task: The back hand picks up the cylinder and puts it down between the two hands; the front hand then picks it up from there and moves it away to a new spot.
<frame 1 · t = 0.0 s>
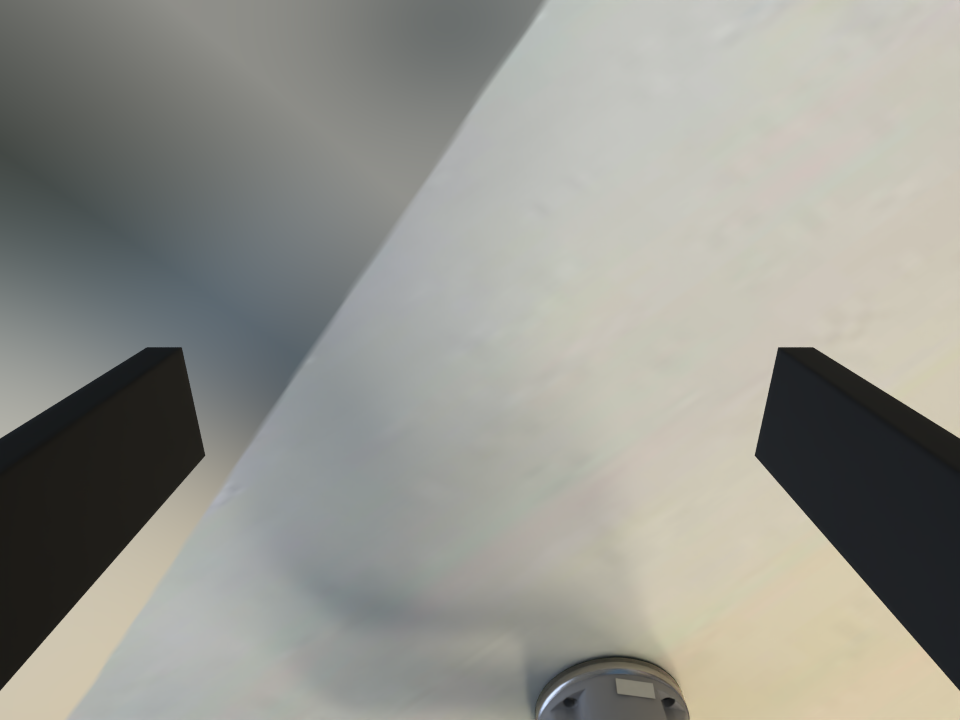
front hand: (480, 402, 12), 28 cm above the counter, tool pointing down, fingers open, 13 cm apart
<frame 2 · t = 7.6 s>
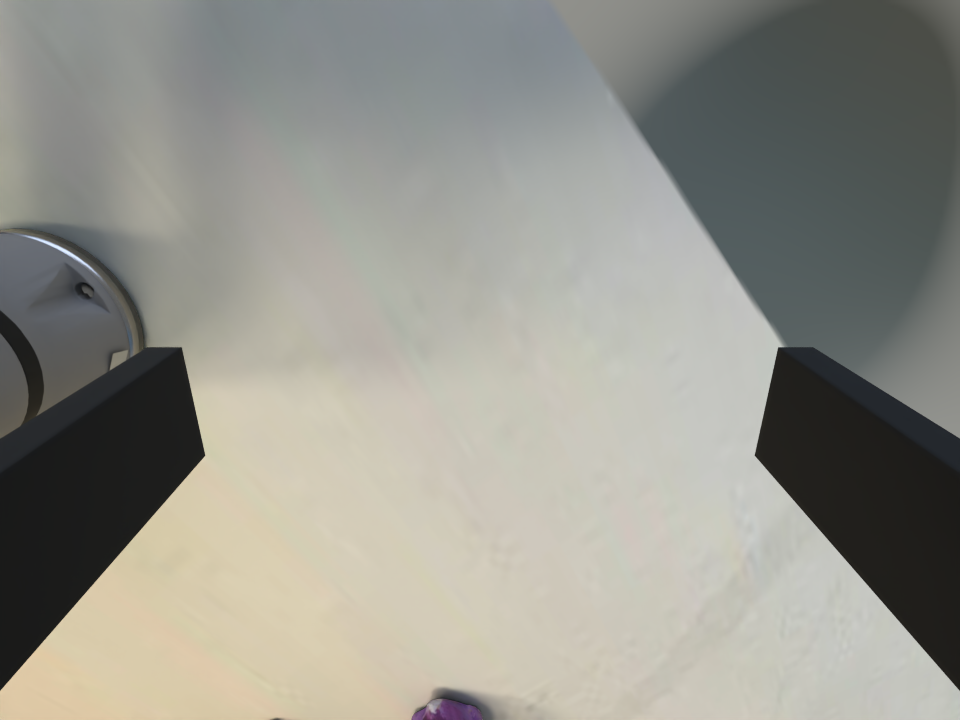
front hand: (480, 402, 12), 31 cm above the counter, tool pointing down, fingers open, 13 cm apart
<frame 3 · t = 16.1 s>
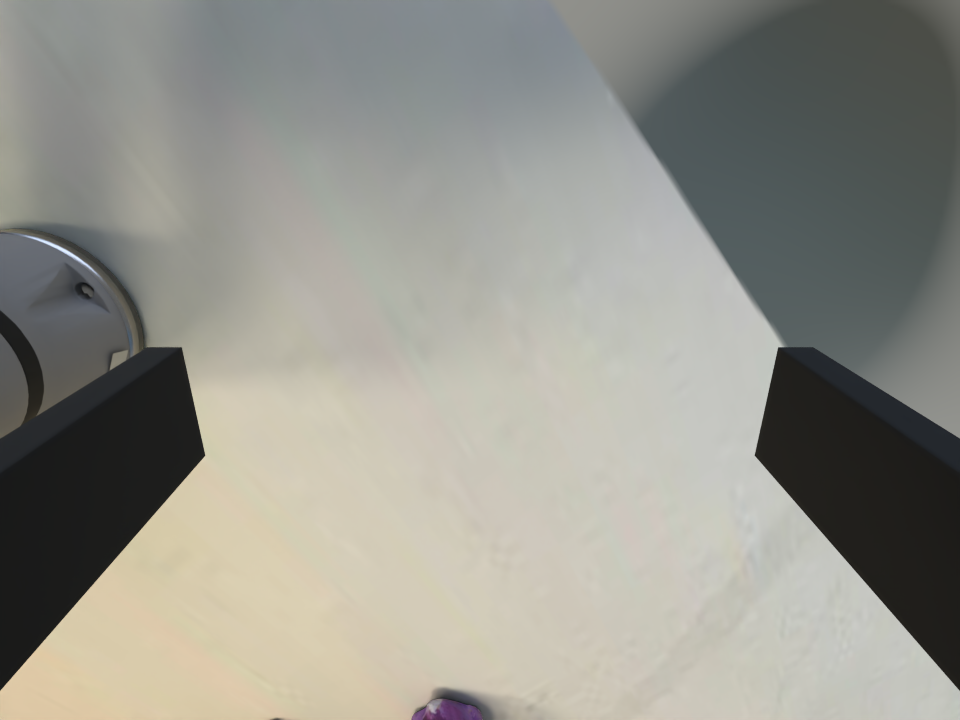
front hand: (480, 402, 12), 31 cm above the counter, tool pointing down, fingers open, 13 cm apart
when the back hand's fingers open (6 cm above the counter, at t = 24.7 s): cylinder drops 2 cm, on the counter.
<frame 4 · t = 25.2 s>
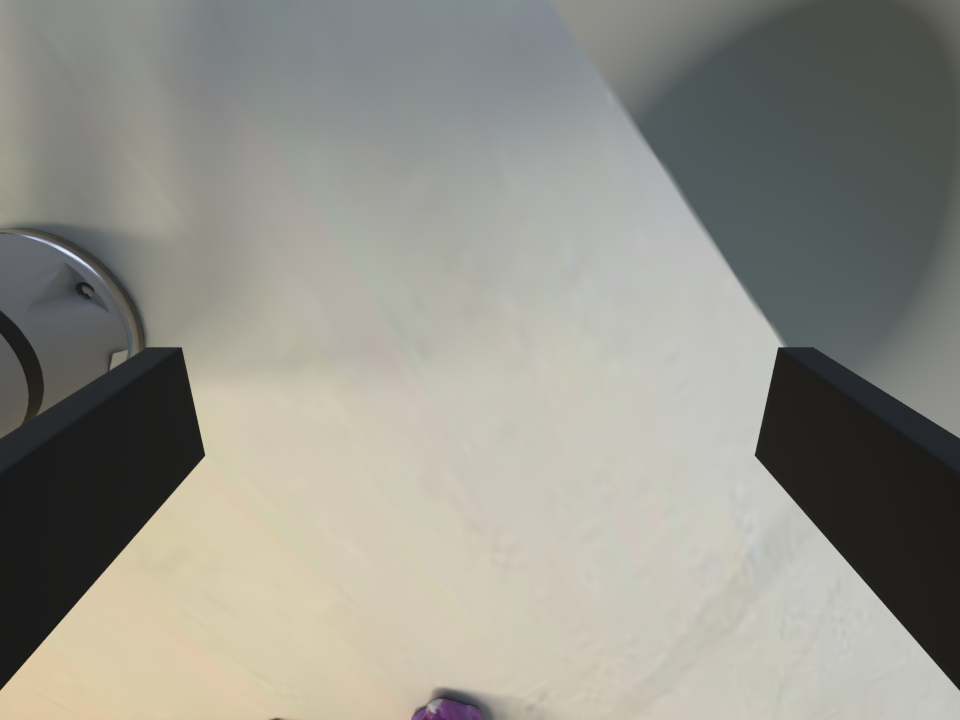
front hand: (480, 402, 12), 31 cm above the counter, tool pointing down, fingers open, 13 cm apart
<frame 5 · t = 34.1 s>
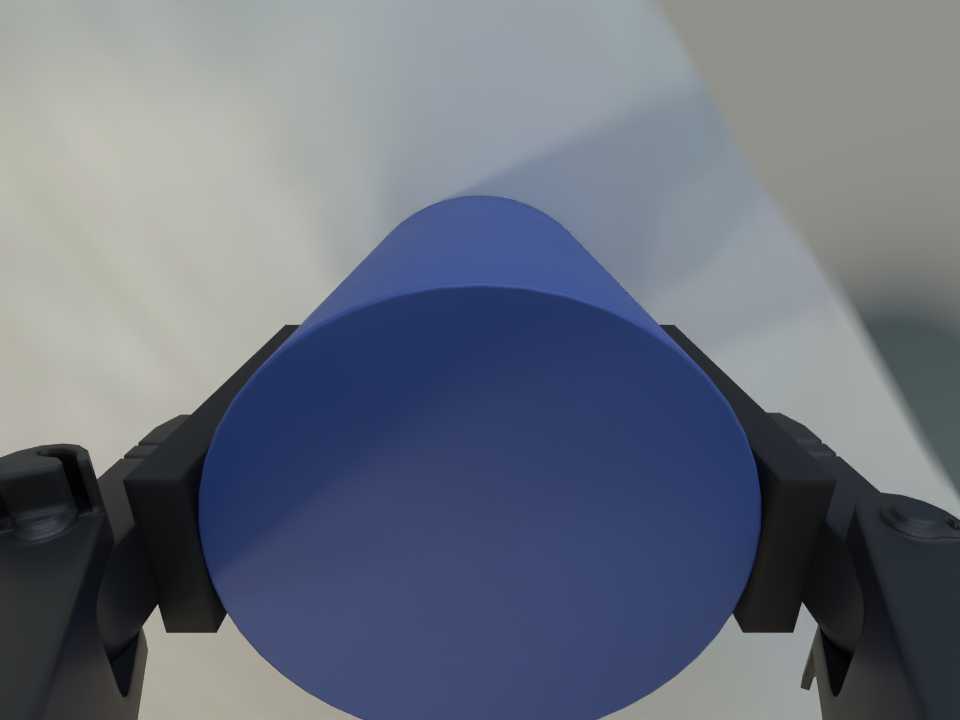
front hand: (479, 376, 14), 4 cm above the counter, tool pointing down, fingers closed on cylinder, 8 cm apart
cylinder: (479, 322, 18), on the counter, touching front hand
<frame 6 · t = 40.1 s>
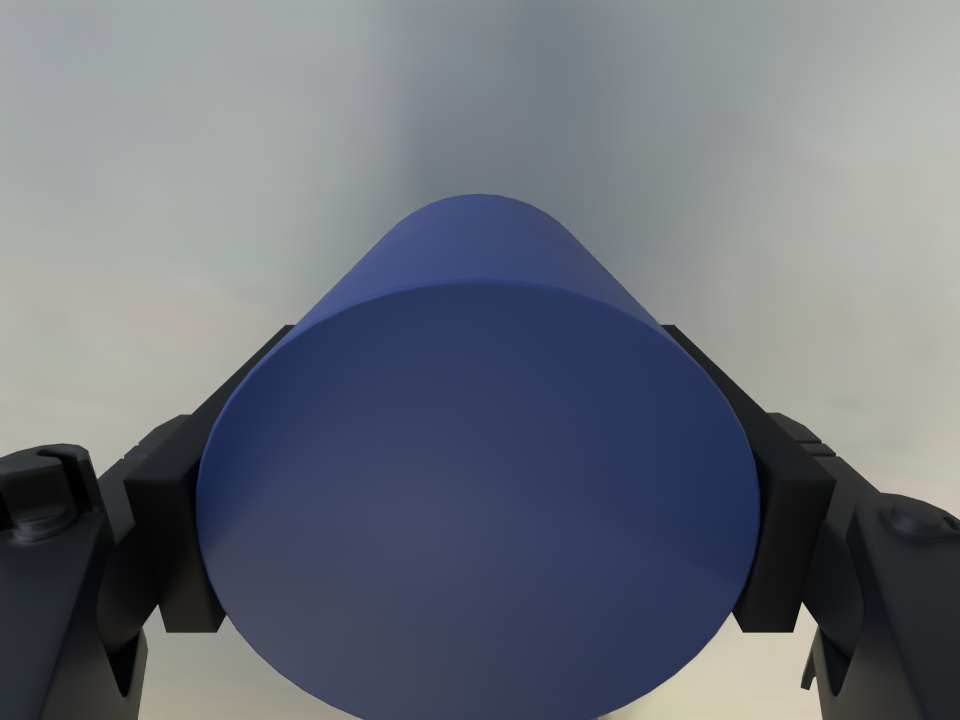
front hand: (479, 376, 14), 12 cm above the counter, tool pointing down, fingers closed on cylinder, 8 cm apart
cylinder: (479, 321, 18), point 8 cm above the counter, touching front hand
when the front hand's fingers open (6 cm above the counter, at t = 46.5 s): cylinder drops 2 cm, on the counter.
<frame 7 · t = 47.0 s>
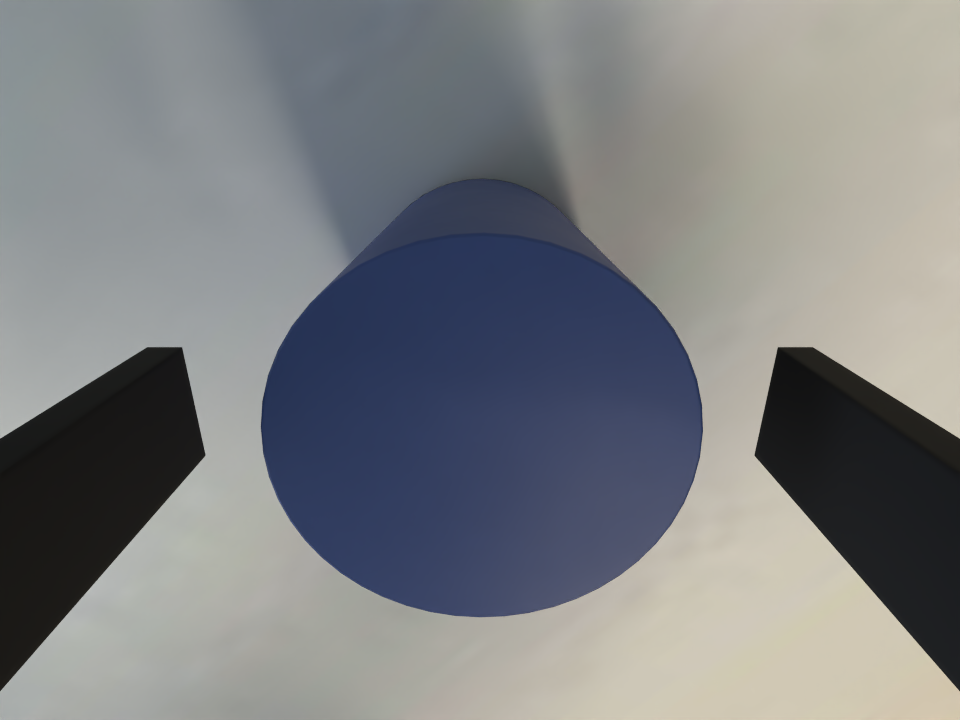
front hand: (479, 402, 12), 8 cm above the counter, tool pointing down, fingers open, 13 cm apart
cylinder: (481, 293, 20), on the counter
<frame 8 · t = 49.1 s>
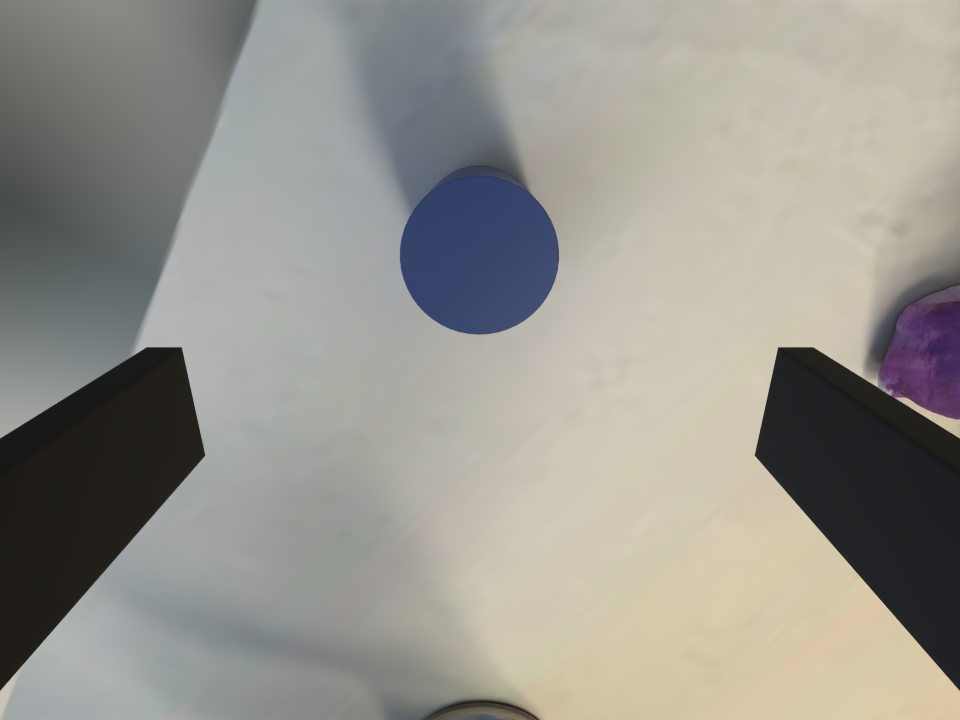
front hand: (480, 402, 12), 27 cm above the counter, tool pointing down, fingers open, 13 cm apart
figurine: (943, 329, 40), on the counter
cylinder: (479, 227, 37), on the counter
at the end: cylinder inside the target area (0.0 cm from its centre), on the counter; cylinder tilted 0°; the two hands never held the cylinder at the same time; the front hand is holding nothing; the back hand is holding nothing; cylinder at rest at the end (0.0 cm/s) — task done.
